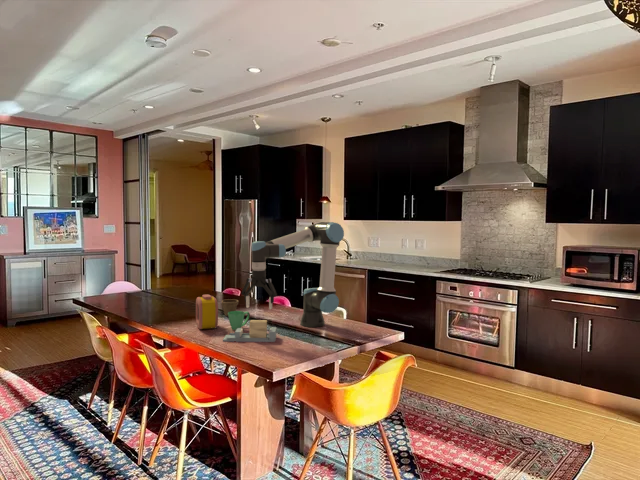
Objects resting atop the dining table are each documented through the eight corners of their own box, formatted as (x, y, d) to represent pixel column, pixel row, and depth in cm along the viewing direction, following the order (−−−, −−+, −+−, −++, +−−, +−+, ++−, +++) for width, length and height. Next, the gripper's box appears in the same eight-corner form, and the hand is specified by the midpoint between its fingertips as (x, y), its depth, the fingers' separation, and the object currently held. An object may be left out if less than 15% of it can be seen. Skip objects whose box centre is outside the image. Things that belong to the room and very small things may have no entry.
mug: (234, 332, 265) (234, 315, 265) (224, 329, 272) (224, 312, 272) (254, 327, 276) (254, 311, 276) (244, 325, 283) (244, 309, 282)
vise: (226, 336, 256) (226, 326, 255) (276, 337, 256) (276, 327, 256) (222, 341, 246) (222, 331, 245) (274, 341, 246) (275, 331, 246)
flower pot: (239, 316, 306) (239, 301, 305) (221, 317, 303) (221, 302, 302) (237, 313, 317) (237, 298, 316) (221, 313, 314) (221, 299, 313)
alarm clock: (195, 324, 282) (195, 293, 281) (213, 323, 286) (213, 292, 285) (199, 331, 265) (199, 298, 264) (218, 330, 269) (218, 297, 268)
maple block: (250, 336, 253) (250, 320, 253) (266, 336, 254) (267, 320, 253) (249, 338, 248) (249, 322, 248) (265, 338, 249) (266, 322, 248)
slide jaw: (237, 334, 255) (237, 328, 255) (242, 334, 255) (242, 328, 255) (234, 338, 246) (234, 332, 246) (240, 338, 246) (240, 332, 246)
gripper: (234, 269, 249) (235, 308, 250) (277, 271, 242) (278, 310, 243) (241, 268, 256) (241, 305, 257) (282, 269, 249) (282, 308, 250)
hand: (259, 308), depth 250 cm, fingers open, 13 cm apart
